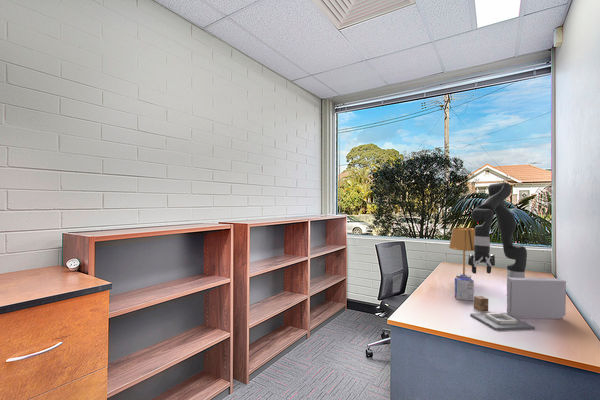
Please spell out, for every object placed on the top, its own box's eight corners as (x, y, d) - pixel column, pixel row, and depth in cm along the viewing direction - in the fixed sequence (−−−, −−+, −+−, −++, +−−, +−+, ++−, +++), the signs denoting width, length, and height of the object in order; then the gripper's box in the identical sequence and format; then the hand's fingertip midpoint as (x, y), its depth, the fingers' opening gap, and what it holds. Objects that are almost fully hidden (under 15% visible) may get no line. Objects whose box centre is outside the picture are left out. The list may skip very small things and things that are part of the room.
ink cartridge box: (470, 297, 188) (471, 274, 188) (474, 300, 183) (474, 277, 183) (454, 296, 190) (454, 273, 190) (456, 299, 185) (457, 276, 185)
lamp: (480, 281, 227) (481, 228, 227) (479, 288, 209) (480, 230, 209) (449, 277, 238) (450, 226, 238) (446, 283, 221) (447, 228, 221)
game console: (504, 313, 162) (505, 276, 162) (556, 314, 161) (556, 278, 162) (512, 317, 157) (512, 279, 157) (565, 319, 156) (565, 281, 156)
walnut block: (481, 308, 170) (482, 295, 170) (488, 311, 165) (488, 298, 165) (473, 308, 170) (473, 296, 170) (479, 311, 165) (480, 298, 165)
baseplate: (505, 314, 160) (505, 309, 160) (534, 329, 142) (535, 323, 142) (470, 315, 158) (470, 310, 158) (496, 330, 140) (496, 324, 140)
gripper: (488, 243, 172) (488, 271, 172) (465, 243, 170) (465, 271, 170) (498, 245, 164) (498, 274, 164) (474, 245, 163) (474, 275, 163)
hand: (481, 273), depth 167 cm, fingers open, 8 cm apart
